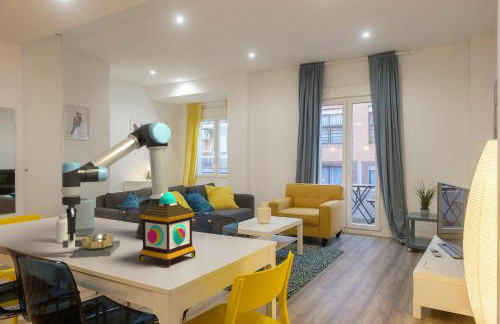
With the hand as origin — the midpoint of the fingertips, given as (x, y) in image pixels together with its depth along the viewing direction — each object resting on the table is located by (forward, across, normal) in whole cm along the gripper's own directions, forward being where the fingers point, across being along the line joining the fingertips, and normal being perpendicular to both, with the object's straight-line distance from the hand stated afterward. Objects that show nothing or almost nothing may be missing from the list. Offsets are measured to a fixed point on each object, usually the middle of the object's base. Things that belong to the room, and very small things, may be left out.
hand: (71, 247), depth 154 cm
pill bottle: (+5, -35, 0) cm, 35 cm away
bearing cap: (+4, -3, +12) cm, 13 cm away
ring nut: (+1, -4, +8) cm, 9 cm away
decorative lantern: (+4, +30, +35) cm, 46 cm away
